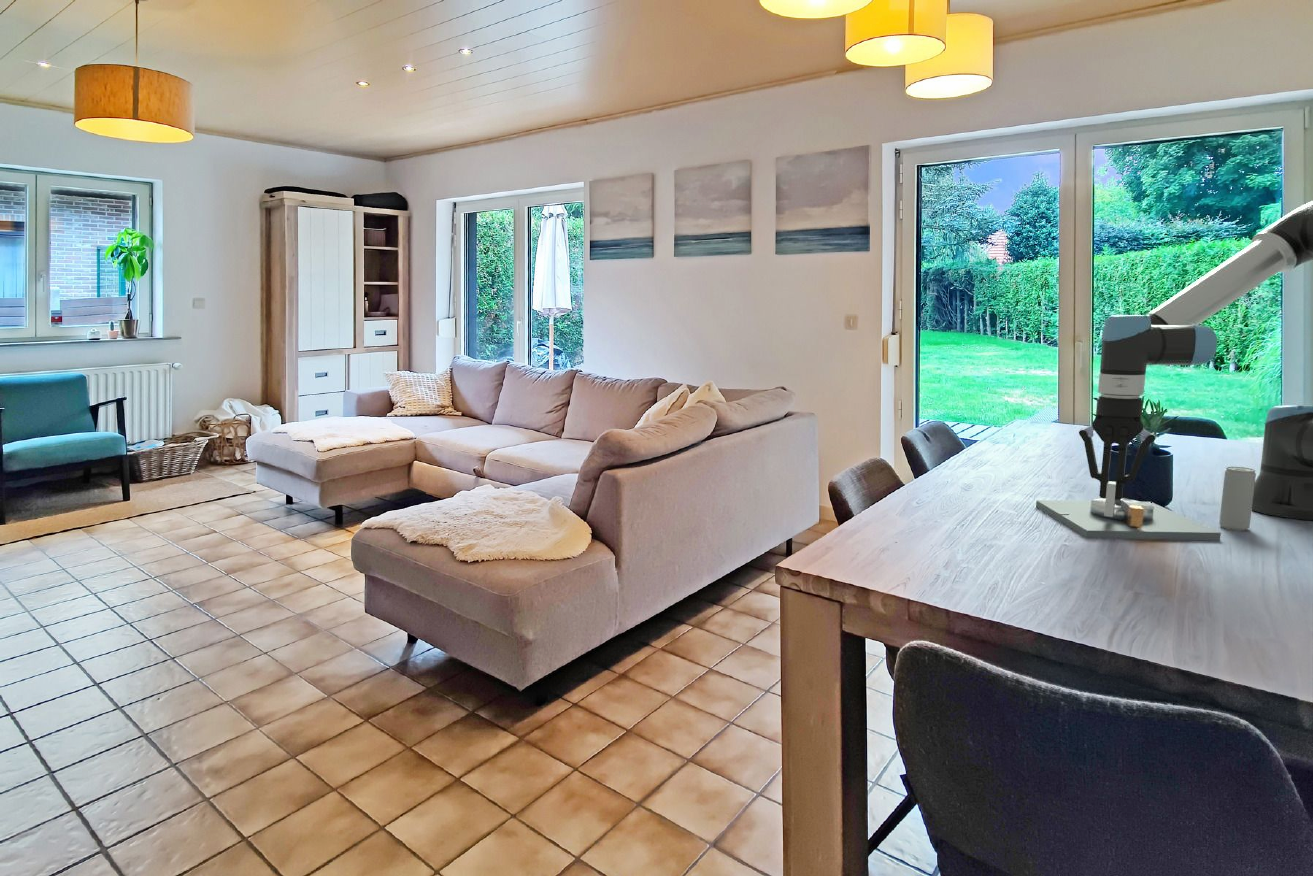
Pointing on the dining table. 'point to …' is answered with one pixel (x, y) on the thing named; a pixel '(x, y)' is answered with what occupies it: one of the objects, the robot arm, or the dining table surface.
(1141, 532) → the dial board
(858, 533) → the dining table surface
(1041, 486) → the dining table surface
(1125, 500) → the dial
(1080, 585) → the dining table surface
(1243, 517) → the beverage can
